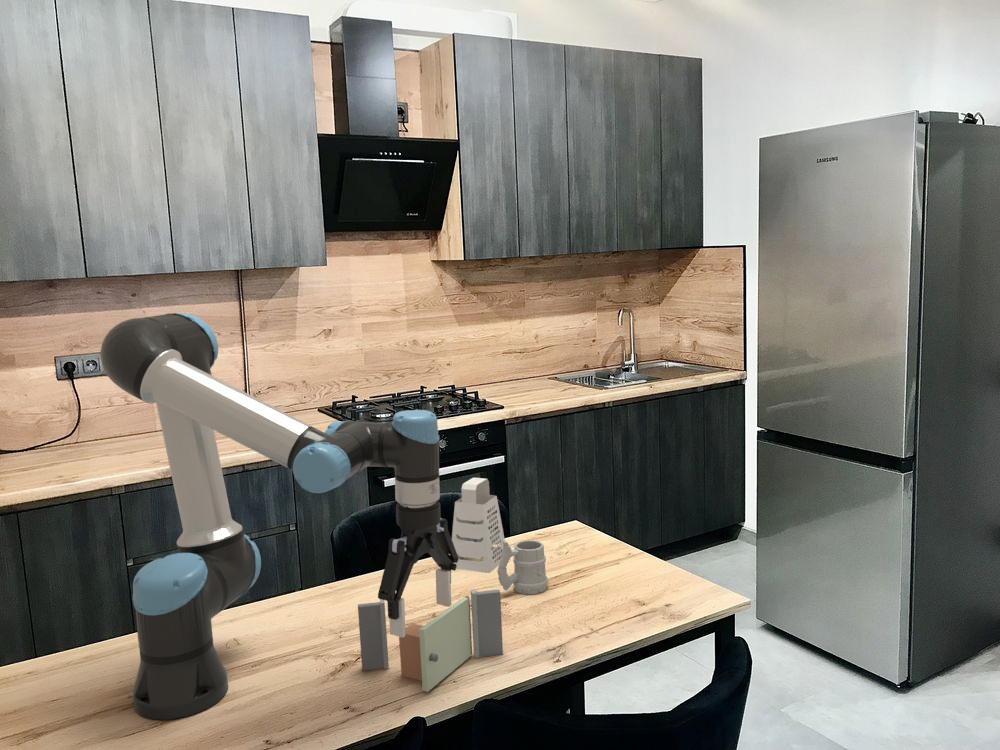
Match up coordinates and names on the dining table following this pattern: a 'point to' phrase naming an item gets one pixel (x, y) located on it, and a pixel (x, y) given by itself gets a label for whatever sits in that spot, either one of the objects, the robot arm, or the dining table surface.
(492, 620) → the frame
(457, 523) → the grater
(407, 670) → the orange brown rectangular block
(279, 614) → the dining table surface
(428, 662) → the door
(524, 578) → the mug
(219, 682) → the robot arm
